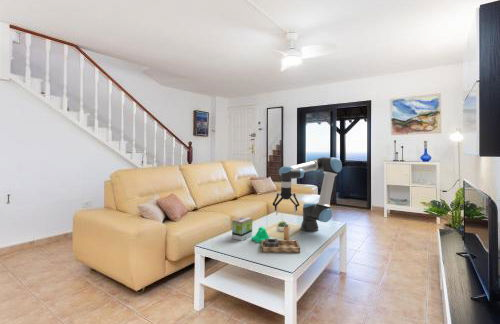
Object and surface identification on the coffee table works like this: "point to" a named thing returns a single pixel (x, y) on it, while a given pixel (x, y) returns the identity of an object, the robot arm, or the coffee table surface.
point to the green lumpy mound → (260, 235)
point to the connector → (286, 232)
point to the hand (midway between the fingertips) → (285, 214)
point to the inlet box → (280, 246)
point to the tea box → (241, 228)
